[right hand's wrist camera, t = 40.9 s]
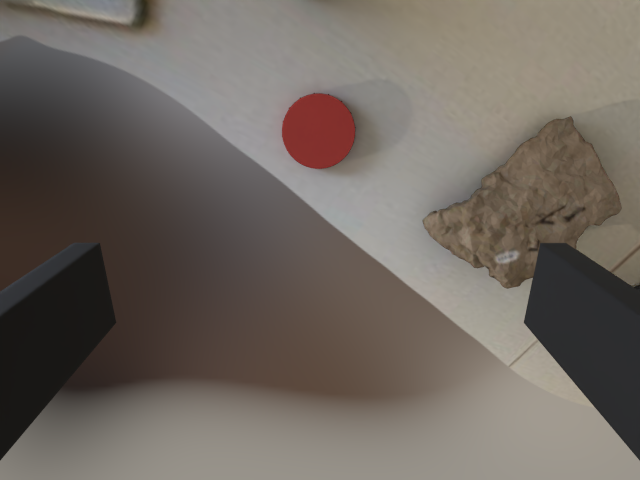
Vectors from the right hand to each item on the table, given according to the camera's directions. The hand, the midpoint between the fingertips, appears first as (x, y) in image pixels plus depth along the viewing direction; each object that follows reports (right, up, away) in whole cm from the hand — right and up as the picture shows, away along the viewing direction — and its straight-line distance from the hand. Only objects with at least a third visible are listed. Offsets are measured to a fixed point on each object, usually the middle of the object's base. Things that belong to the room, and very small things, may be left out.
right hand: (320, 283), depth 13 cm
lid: (0, +14, +37) cm, 39 cm away
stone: (+25, +6, +41) cm, 49 cm away
